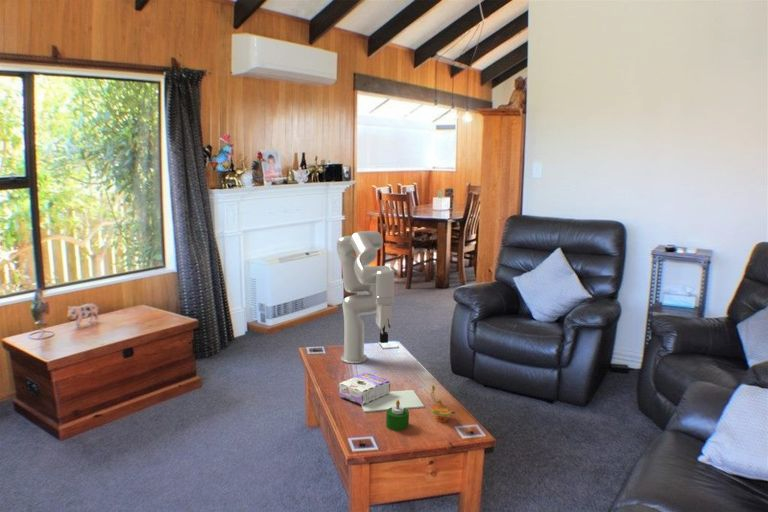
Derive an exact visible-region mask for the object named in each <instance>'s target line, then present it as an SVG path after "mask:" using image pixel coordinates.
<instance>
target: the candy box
mask: <svg viewBox="0 0 768 512" xmlns="http://www.w3.org/2000/svg"><path fill="white" fill-rule="evenodd" d="M390 389H391V381H390V380H388V379H384V378H382V377H379V376H376V375H375V374H371V373H368V372H365V373H362V374H360V375H357V376H354V377H351V378H349V379H346V380H343V381H341V382H339V383H338V396H339V397H341V398H344V399H346V400H348V401H351V402H354V403H356V404H358V405H360V406H361V405H364V404H366V403H369V402H371V401H373V400H376V399H378V398H380V397H383V396H385V395H388V394H390V392H391V391H390Z"/></svg>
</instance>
